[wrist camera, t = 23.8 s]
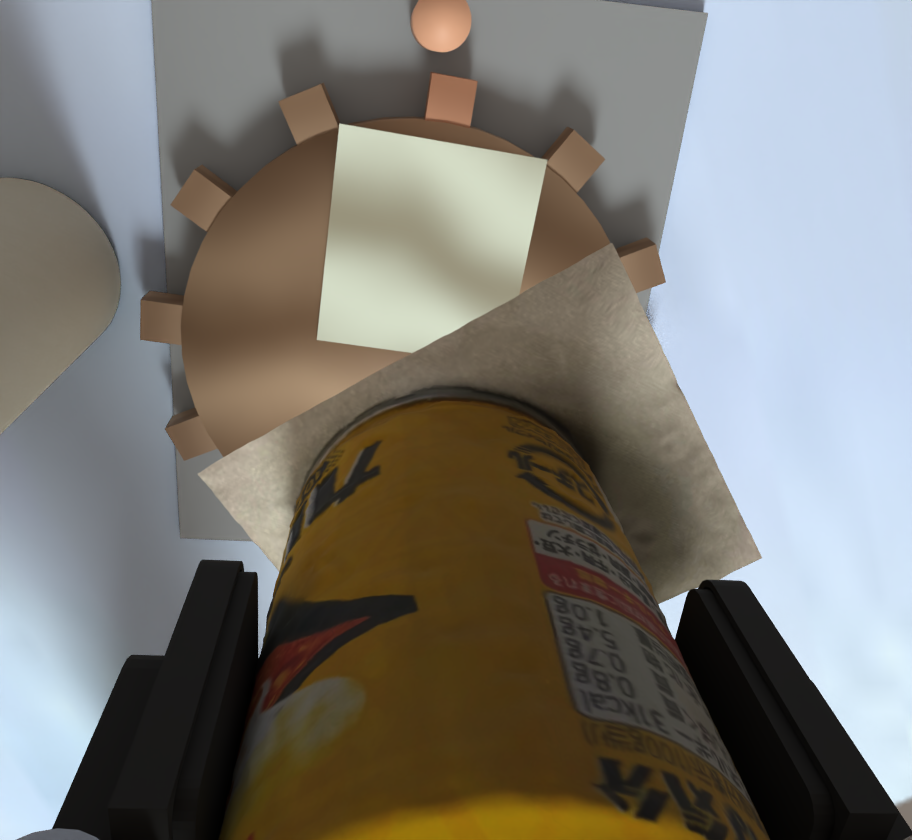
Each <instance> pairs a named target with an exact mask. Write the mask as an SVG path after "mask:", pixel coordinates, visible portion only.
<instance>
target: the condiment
mask: <svg viewBox="0 0 912 840" xmlns="http://www.w3.org/2000/svg"><path fill="white" fill-rule="evenodd" d="M198 475H199V476H200V478H201V479H202V480H203V481H204V482H205V483H206V484H207V486H208V487H209V488H210V489H211V490H212V491H213V493H214V495H215V496H216V497H217V498H218V499H219V500H220V501H221V503H222V504H223V505H224V507H225V508H226V509H227V510H228V511H229V513H230V514H231V515H232V517H233V518H234V519H235V520H236V521H237V522H238V523H239V524H240V525H241V526H242V527H243V529H244V530H245V532H246V533H247V534H248V536H249V537H250V538H251V539H252V541H253V542H254V543H255V544H257V545H258V546H259V547H260V549H261V550H262V551H263V553H264V554H265V555H266V556H267V558H268V559H269V560H270V561H271V562H272V563H273V564H274V566H275V567H276V568H277V569H278V571H279V575H278V578H277V581H276V584H275V589H274V593H273V599H272V602H271V604H270V608H269V611H268V614H267V621H266V633H265V637H264V638H263V647H262V651H261V655H260V657H259V658H258V662H257V665H256V669H255V673H254V677H253V681H252V687H251V699H250V704H249V706H248V709H247V713H246V718H245V724H244V731H243V734H242V738H241V742H240V747H239V751H238V755H237V760H236V764H235V767H234V771H233V777H232V784H231V789H230V791H229V794H228V796H227V800H226V807H225V814H224V818H223V822H222V826H221V829H220V834H219V838H218V840H770V839H769V836H768V834H767V832H766V830H765V827H764V825H763V823H762V822H761V820H760V818H759V815H758V813H757V811H756V809H755V807H754V805H753V803H752V801H751V799H750V796H749V794H748V792H747V790H746V788H745V786H744V784H743V782H742V780H741V777H740V775H739V773H738V772H737V770H736V768H735V766H734V763H733V761H732V758H731V756H730V754H729V752H728V750H727V748H726V747H725V745H724V743H723V741H722V739H721V737H720V735H719V733H718V730H717V728H716V726H715V724H714V722H713V720H712V718H711V716H710V714H709V711H708V709H707V707H706V705H705V704H704V702H703V700H702V698H701V696H700V694H699V692H698V690H697V688H696V685H695V683H694V681H693V679H692V677H691V675H690V673H689V670H688V667H687V666H686V664H685V662H684V659H683V657H682V654H681V652H680V650H679V648H678V645H677V643H676V641H675V640H674V638H673V637H672V635H671V633H670V631H669V629H668V626H667V623H666V619H665V616H664V615H663V613H662V611H661V610H660V608H659V605H658V604H659V603H662V602H664V601H666V600H669V599H671V598H673V597H675V596H677V595H679V594H682V593H684V592H686V591H689V590H691V589H695V588H698V587H699V585H700V584H701V582H702V581H704V580H706V579H707V580H719V579H721V578H723V577H725V576H726V575H728V574H730V573H732V572H733V571H736V570H738V569H740V568H742V567H744V566H746V565H748V564H751V563H753V562H755V561H757V560H759V559H761V558H762V557H761V555H760V553H759V551H758V548H757V546H756V544H755V542H754V540H753V538H752V536H751V534H750V532H749V530H748V529H747V527H746V525H745V522H744V520H743V518H742V516H741V514H740V512H739V510H738V508H737V506H736V503H735V501H734V499H733V497H732V495H731V493H730V491H729V489H728V487H727V485H726V483H725V481H724V478H723V476H722V474H721V472H720V471H719V469H718V466H717V464H716V462H715V459H714V457H713V455H712V453H711V451H710V450H709V447H708V445H707V443H706V441H705V439H704V438H703V435H702V433H701V430H700V428H699V426H698V424H697V422H696V420H695V418H694V415H693V413H692V411H691V409H690V407H689V405H688V403H687V401H686V399H685V396H684V394H683V393H682V391H681V389H680V388H679V386H678V384H677V381H676V378H675V375H674V373H673V371H672V369H671V367H670V364H669V362H668V360H667V358H666V356H665V354H664V353H663V350H662V347H661V345H660V343H659V341H658V338H657V336H656V334H655V332H654V330H653V328H652V326H651V324H650V322H649V320H648V318H647V316H646V314H645V312H644V310H643V308H642V306H641V304H640V302H639V299H638V296H637V294H636V292H635V289H634V287H633V285H632V283H631V281H630V279H629V277H628V275H627V272H626V270H625V268H624V266H623V264H622V262H621V260H620V258H619V256H618V253H617V251H616V249H615V247H614V245H613V243H610V244H609V245H607V246H605V247H603V248H602V249H600V250H598V251H596V252H594V253H592V254H591V255H589V256H587V257H585V258H584V259H582V260H580V261H579V262H577V263H576V264H574V265H572V266H570V267H569V268H567V269H565V270H563V271H561V272H559V273H558V274H556V275H554V276H552V277H550V278H548V279H546V280H544V281H542V282H540V283H538V284H536V285H535V286H533V287H531V288H529V289H527V290H526V291H524V292H523V293H521V294H520V295H518V296H517V297H515V298H513V299H512V300H510V301H508V302H506V303H504V304H502V305H500V306H498V307H496V308H494V309H493V310H491V311H489V312H487V313H486V314H484V315H482V316H480V317H478V318H476V319H474V320H472V321H470V322H468V323H467V324H465V325H464V326H462V327H461V328H459V329H457V330H455V331H454V332H452V333H450V334H448V335H445V336H443V337H441V338H439V339H437V340H436V341H434V342H432V343H430V344H429V345H427V346H425V347H423V348H421V349H419V350H417V351H415V352H413V353H412V354H410V355H408V356H406V357H404V358H402V359H400V360H398V361H396V362H394V363H392V364H391V365H389V366H387V367H385V368H383V369H381V370H379V371H377V372H376V373H374V374H372V375H370V376H368V377H366V378H365V379H363V380H361V381H359V382H358V383H356V384H354V385H352V386H351V387H349V388H347V389H345V390H343V391H342V392H340V393H338V394H337V395H335V396H333V397H331V398H329V399H327V400H325V401H323V402H321V403H320V404H318V405H316V406H314V407H313V408H311V409H309V410H308V411H306V412H304V413H302V414H300V415H298V416H296V417H294V418H292V419H291V420H289V421H287V422H285V423H283V424H282V425H280V426H278V427H276V428H275V429H273V430H272V431H270V432H268V433H267V434H265V435H263V436H262V437H260V438H258V439H256V440H253V441H251V442H249V443H247V444H246V445H244V446H242V447H241V448H239V449H237V450H235V451H233V452H232V453H230V454H229V455H227V456H225V457H223V458H222V459H220V460H218V461H216V462H215V463H213V464H212V465H210V466H209V467H207V468H206V469H204V470H203V471H202V472H200V473H198Z"/></svg>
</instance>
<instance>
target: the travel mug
mask: <svg viewBox="0 0 912 840" xmlns="http://www.w3.org/2000/svg"><path fill="white" fill-rule="evenodd" d="M120 290H121V280H120V271H119V266H118V262H117V258H116V256H115V253H114V250H113V248H112V246H111V244H110V242H109V240H108V238H107V237H106V235H105V233H104V232H103V230H102V229H101V227H100V226H99V225H98V224H97V222H96V221H95V220H94V219H93V218H92V217H91V216H90V215H89V214H88V213H87V212H86V211H85V210H84V209H83V208H82V207H81V206H80V205H78V204H77V203H76V202H75V201H73V200H72V199H70V198H69V197H67V196H66V195H64V194H62V193H61V192H59V191H57V190H55V189H53V188H51V187H48V186H46V185H43V184H40V183H37V182H34V181H30V180H25V179H18V178H0V434H1V433H2V432H3V431H4V430H5V429H7V428H8V427H9V426H10V425H11V424H12V423H13V422H14V421H15V420H16V419H17V418H18V417H19V416H20V415H21V414H22V413H23V412H24V411H25V410H26V409H27V408H28V407H29V406H30V405H31V404H32V403H33V402H34V401H35V400H36V399H37V398H38V397H39V396H40V395H41V394H42V393H43V392H44V391H45V390H46V389H47V388H48V387H49V386H50V385H51V384H52V383H53V382H54V381H55V380H56V379H57V378H58V377H59V376H60V375H61V374H62V373H63V372H64V371H65V370H66V369H67V368H68V367H69V366H70V365H71V364H72V363H73V362H74V361H75V360H76V359H77V358H78V357H79V356H80V355H81V354H82V353H83V352H84V351H85V350H86V349H87V348H88V347H89V346H90V345H91V344H92V343H93V342H94V341H95V340H96V339H97V338H98V337H99V336H100V335H101V334H102V333H103V332H104V331H105V330H106V328H107V327H108V325H109V324H110V322H111V321H112V319H113V317H114V315H115V312H116V310H117V307H118V303H119V298H120Z"/></svg>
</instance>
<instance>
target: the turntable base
mask: <svg viewBox="0 0 912 840" xmlns="http://www.w3.org/2000/svg"><path fill="white" fill-rule="evenodd" d="M151 2H152V21H153V39H154V58H155V77H156V95H157V114H158V133H159V151H160V170H161V189H162V207H163V226H164V245H165V263H166V282H167V293H170V294H177V295H184V294H185V291H186V287H187V283H188V279H189V275H190V271H191V268H192V265H193V263H194V260H195V258H196V256H197V253H198V251H199V248H200V246H201V244H202V241H203V239H204V238H205V236H206V234H207V233H208V232H206V231H205V230H204V229H202V228H201V227H199V226H198V225H197V224H195V223H194V222H193V221H191V220H190V219H189V218H187V217H186V216H184V215H183V214H182V213H180V212H179V211H178V210H176V209H175V208H173V207H172V206H171V205H170V204H171V203H172V201H173V200H174V199H175V197H176V196H177V194H178V193H179V191H180V190H181V188H182V187H183V185H184V184H185V182H186V181H187V179H188V178H189V176H190V175H191V173H192V172H193V170H194V169H196V168H197V167H199V166H200V165H203V166H205V167H206V168H207V169H209V170H210V171H211V172H212V173H214V174H215V175H216V176H218V177H219V178H220V179H222V180H223V181H224V182H226V183H227V184H228V185H230V186H231V187H232V188H234V189H235V190H236V191H238V190H239V189H240V188H241V187H242V186H243V185H245V184H246V183H247V182H248V181H249V180H250V179H251V178H252V177H253V176H254V175H255V174H257V173H258V172H259V171H260V170H261V169H262V168H263V167H264V166H265V165H266V164H268V163H269V162H271V161H272V160H274V159H275V158H276V157H278V156H279V155H281V154H282V153H284V152H285V151H287V150H288V149H290V148H291V147H293V146H295V145H297V144H296V141H295V139H294V137H293V135H292V132H291V130H290V128H289V125H288V123H287V121H286V118H285V116H284V114H283V112H282V109H281V107H280V105H279V102H278V101H280V100H282V99H285V98H287V97H290V96H292V95H295V94H297V93H299V92H302V91H304V90H307V89H309V88H312V87H314V86H317V85H319V84H321V83H324V84H325V87H326V89H327V92H328V94H329V97H330V99H331V101H332V104H333V106H334V109H335V111H336V114H337V116H338V119H339V121H340V123H341V124H349V123H353V122H359V121H365V120H371V119H376V118H382V117H412V116H415V117H424V114H425V107H426V100H427V93H428V87H429V80H430V73H431V72H435V73H440V74H445V75H451V76H456V77H462V78H467V79H472V80H476V81H478V83H477V89H476V95H475V100H474V106H473V112H472V118H471V124H470V126H472V127H476V128H479V129H481V130H484V131H486V132H489V133H491V134H494V135H496V136H498V137H501V138H503V139H506V140H507V141H509V142H511V143H512V144H514V145H516V146H518V147H519V148H521V149H523V150H525V151H526V152H528V153H530V154H531V155H533V156H534V157H536V158H542V156H543V155H544V154H545V153H546V152H547V150H548V149H549V148H550V147H551V146H552V144H553V143H554V142H555V141H556V139H557V138H558V137H559V136H560V135H561V133H562V132H563V131H564V130H565V129H566V127H569V128H571V129H574V130H575V131H576V132H577V133H578V134H579V135H580V136H581V137H582V138H583V139H584V140H586V141H587V142H588V143H589V144H590V145H591V146H592V147H593V148H594V149H595V150H596V151H597V152H598V153H599V154H601V155H602V156H603V157H604V158H605V161H604V162H603V163H602V164H601V165H600V166H599V168H598V169H597V170H596V171H595V172H594V173H593V175H592V176H591V177H590V178H589V179H588V180H587V182H586V183H585V184H584V185H583V186H582V187H581V189H580V190H579V191H578V192H577V193H576V194H577V195H578V196H579V197H580V198H581V199H582V200H583V201H584V202H585V204H586V205H587V206H588V208H589V209H590V211H591V212H592V213H593V215H594V216H595V217H596V219H597V220H598V222H599V223H600V224H601V226H602V228H603V230H604V232H605V234H606V236H607V237H608V239H609V241H610V243H613V245H614V247H615V249H617V248H619V247H622V246H625V245H627V244H630V243H633V242H635V241H638V240H641V239H643V238H646V237H647V238H648V239H650V240H651V241H652V242H654V243H655V244H656V246H657V250H658V253H659V248H660V243H661V238H662V234H663V229H664V224H665V219H666V214H667V209H668V205H669V200H670V195H671V190H672V185H673V180H674V176H675V171H676V166H677V161H678V156H679V151H680V147H681V142H682V137H683V132H684V127H685V122H686V118H687V113H688V108H689V103H690V98H691V93H692V89H693V84H694V79H695V74H696V69H697V64H698V60H699V55H700V50H701V45H702V40H703V35H704V31H705V26H706V21H707V16H708V13H704V12H695V11H687V10H678V9H670V8H662V7H653V6H645V5H636V4H628V3H619V2H611V1H603V0H151ZM650 292H651V288H649V289H646V290H644V291H641V292H638V293H636V294H637V296H638V299H639V302H640V304H641V306H642V308H643V310H644V312H645V314H646V311H647V306H648V301H649V297H650ZM170 357H171V375H172V394H173V413H174V415H176V414H179V413H181V412H184V411H187V410H189V409H192V408H195V405H194V402H193V399H192V396H191V393H190V390H189V387H188V384H187V380H186V374H185V369H184V363H183V358H182V345H176V344H170ZM175 450H176V469H177V487H178V506H179V525H180V538H187V539H211V540H234V541H252V539H251V538H250V537H249V536H248V534H247V533H246V532H245V530H244V529H243V527H242V526H241V525H240V524H239V523H238V522H237V521H236V520H235V519H234V518H233V517H232V515H231V514H230V513H229V511H228V510H227V509H226V508H225V507H224V505H223V504H222V503H221V501H220V500H219V499H218V498H217V497H216V496H215V495H214V493H213V491H212V490H211V489H210V488H209V487H208V486H207V484H206V483H205V482H204V481H203V480H202V479H201V478H200V476H199V475H198V473H200V472H202V471H203V470H204V469H206V468H207V467H209V466H210V465H212V464H213V463H215V462H216V461H218V460H220V459H222V458H223V456H222V454H221V453H220V451H219V450H218V449H215V450H212V451H210V452H207V453H204V454H202V455H199V456H196V457H193V458H191V459H188V460H185V461H184V460H183V458H182V457H181V455H180V453H179V452H178V450H177V448H176V447H175Z"/></svg>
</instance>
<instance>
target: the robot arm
mask: <svg viewBox="0 0 912 840" xmlns="http://www.w3.org/2000/svg"><path fill="white" fill-rule="evenodd" d="M675 641H676V643H677V645H678V648H679V650H680V652H681V654H682V657H683V659H684V662H685V664H686V666H687V667H688V670H689V673H690V675H691V677H692V679H693V681H694V683H695V685H696V688H697V690H698V692H699V694H700V696H701V698H702V700H703V702H704V704H705V705H706V707H707V709H708V711H709V714H710V716H711V718H712V720H713V722H714V724H715V726H716V728H717V730H718V733H719V735H720V737H721V739H722V741H723V743H724V745H725V747H726V748H727V750H728V752H729V754H730V756H731V758H732V761H733V763H734V766H735V768H736V770H737V772H738V773H739V775H740V777H741V780H742V782H743V784H744V786H745V788H746V790H747V792H748V794H749V796H750V799H751V801H752V803H753V805H754V807H755V809H756V811H757V813H758V815H759V818H760V820H761V822H762V823H763V825H764V827H765V830H766V832H767V834H768V836H769V839H770V840H912V830H911V829H910V827H909V826H908V824H907V823H906V821H905V820H904V818H903V817H902V816H901V814H900V813H899V811H898V809H897V808H896V806H895V805H894V803H893V802H892V800H891V799H890V797H889V796H888V794H887V793H886V791H885V790H884V788H883V787H882V785H881V784H880V782H879V781H878V779H877V778H876V776H875V775H874V773H873V772H872V770H871V769H870V767H869V766H868V764H867V763H866V761H865V760H864V758H863V757H862V755H861V754H860V752H859V751H858V749H857V748H856V746H855V745H854V743H853V741H852V740H851V738H850V737H849V735H848V734H847V732H846V731H845V729H844V728H843V726H842V725H841V723H840V722H839V720H838V719H837V717H836V716H835V714H834V713H833V711H832V710H831V708H830V707H829V705H828V704H827V702H826V701H825V699H824V698H823V696H822V695H821V693H820V692H819V690H818V689H817V687H816V686H815V684H814V683H813V682H812V681H811V680H810V679H809V677H808V676H807V674H806V673H805V671H804V669H803V668H802V666H801V665H800V663H799V662H798V660H797V659H796V657H795V656H794V654H793V653H792V651H791V650H790V648H789V647H788V645H787V644H786V642H785V641H784V639H783V638H782V636H781V635H780V633H779V632H778V630H777V629H776V627H775V626H774V624H773V623H772V621H771V620H770V618H769V617H768V615H767V614H766V612H765V611H764V609H763V608H762V606H761V605H760V603H759V601H758V600H757V598H756V597H755V595H754V594H753V592H752V591H751V589H750V588H749V586H748V585H747V584H746V583H745V582H742V581H732V580H707V579H706V580H704V581H702V582H701V584H700V585H699V588H698V589H691V590H690V591H689V592H688V594H687V597H686V600H685V604H684V608H683V612H682V615H681V619H680V623H679V626H678V630H677V634H676V638H675ZM257 662H258V576H257V573H256V572H244V566H243V562H242V561H223V560H201V561H200V563H199V565H198V568H197V571H196V573H195V576H194V579H193V581H192V584H191V587H190V589H189V592H188V595H187V597H186V600H185V603H184V605H183V608H182V611H181V613H180V616H179V619H178V621H177V624H176V627H175V630H174V632H173V635H172V638H171V640H170V643H169V646H168V648H167V651H166V654H165V656H153V655H131V656H130V657H129V658H128V659H127V660H126V662H125V664H124V665H123V667H122V669H121V672H120V674H119V676H118V679H117V681H116V683H115V686H114V688H113V690H112V692H111V695H110V697H109V699H108V702H107V704H106V706H105V709H104V711H103V713H102V715H101V718H100V720H99V722H98V725H97V727H96V729H95V732H94V734H93V736H92V738H91V741H90V743H89V745H88V748H87V750H86V752H85V755H84V757H83V759H82V761H81V764H80V766H79V768H78V771H77V773H76V775H75V777H74V780H73V782H72V784H71V787H70V789H69V791H68V794H67V796H66V798H65V800H64V803H63V805H62V807H61V810H60V812H59V814H58V817H57V819H56V821H55V823H54V826H53V828H52V829H51V830H45V831H39V832H34V833H31V834H29V835H26V836H24V837H21V838H19V839H17V840H218V838H219V834H220V829H221V826H222V822H223V818H224V814H225V807H226V800H227V796H228V794H229V791H230V789H231V784H232V777H233V771H234V767H235V764H236V760H237V755H238V751H239V747H240V742H241V738H242V734H243V731H244V724H245V718H246V713H247V709H248V706H249V704H250V699H251V687H252V681H253V677H254V673H255V669H256V665H257Z"/></svg>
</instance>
